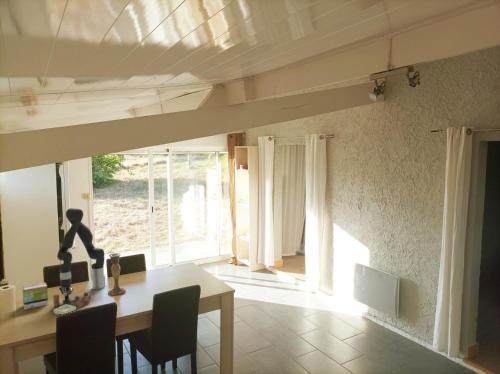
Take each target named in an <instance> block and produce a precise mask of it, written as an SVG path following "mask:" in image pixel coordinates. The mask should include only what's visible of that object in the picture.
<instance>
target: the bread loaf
mask: <svg viewBox="0 0 500 374" xmlns="http://www.w3.org/2000/svg"><path fill="white" fill-rule="evenodd" d="M52 298H53V299H52V300H53V308H54V309H56V308H58V307H61V305H60V294H53V297H52Z"/></svg>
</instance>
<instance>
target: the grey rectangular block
mask: <svg viewBox="0 0 500 374" xmlns="http://www.w3.org/2000/svg"><path fill="white" fill-rule="evenodd" d="M75 296H76V295H72V296H69V298H67V299H65V298H64V299H63V300H62V303H63V304H62V306H63V305H65V304H67V305H72V306H74V300H75ZM78 296H79V297H81V296H80V295H78Z"/></svg>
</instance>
